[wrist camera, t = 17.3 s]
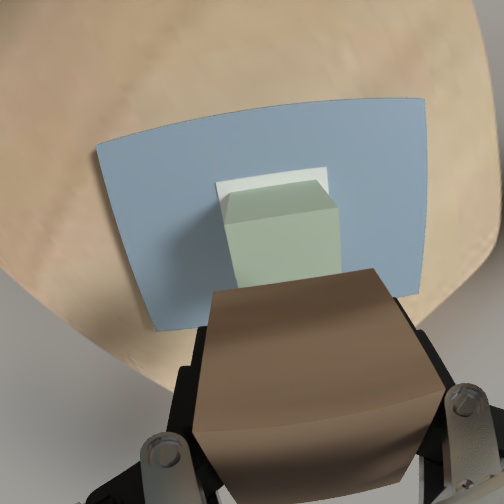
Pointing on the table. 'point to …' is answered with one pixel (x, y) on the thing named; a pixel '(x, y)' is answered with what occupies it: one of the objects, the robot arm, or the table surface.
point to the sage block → (283, 233)
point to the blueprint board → (262, 175)
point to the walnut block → (312, 389)
